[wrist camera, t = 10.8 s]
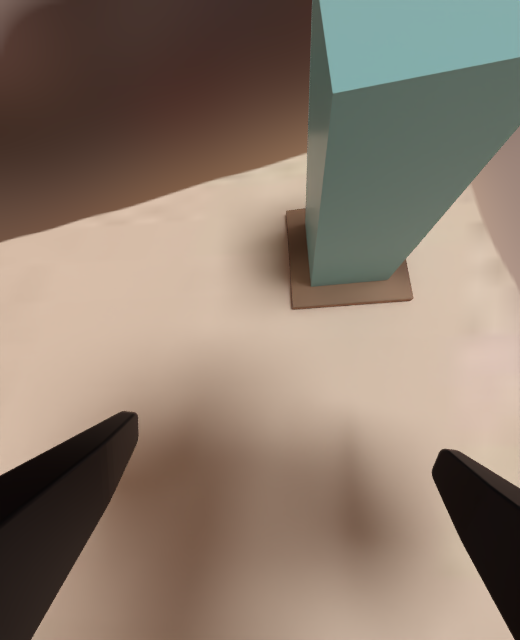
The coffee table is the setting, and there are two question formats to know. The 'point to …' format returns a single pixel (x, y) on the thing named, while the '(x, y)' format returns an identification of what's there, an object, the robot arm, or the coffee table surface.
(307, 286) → the brown square base plate
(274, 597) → the coffee table surface
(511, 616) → the robot arm
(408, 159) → the teal square pillar
